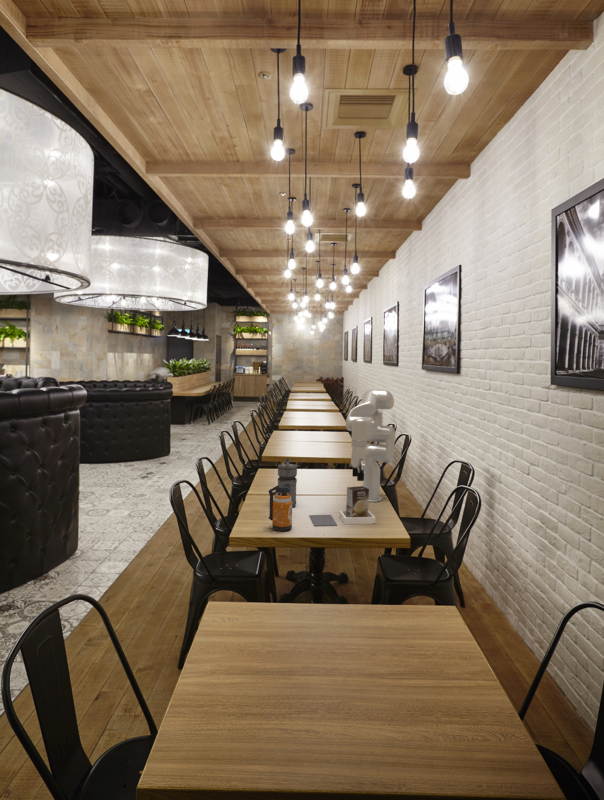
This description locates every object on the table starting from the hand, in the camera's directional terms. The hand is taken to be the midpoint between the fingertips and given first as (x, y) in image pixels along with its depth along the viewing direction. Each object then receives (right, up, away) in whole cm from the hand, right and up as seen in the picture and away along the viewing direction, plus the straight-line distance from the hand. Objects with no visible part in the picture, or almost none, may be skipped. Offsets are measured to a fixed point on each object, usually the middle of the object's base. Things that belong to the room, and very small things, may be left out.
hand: (358, 478), depth 247 cm
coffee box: (0, -21, +2) cm, 21 cm away
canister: (-38, -21, -13) cm, 45 cm away
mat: (-17, -21, 0) cm, 27 cm away
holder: (0, -21, +2) cm, 21 cm away
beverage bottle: (-36, -18, +24) cm, 47 cm away
